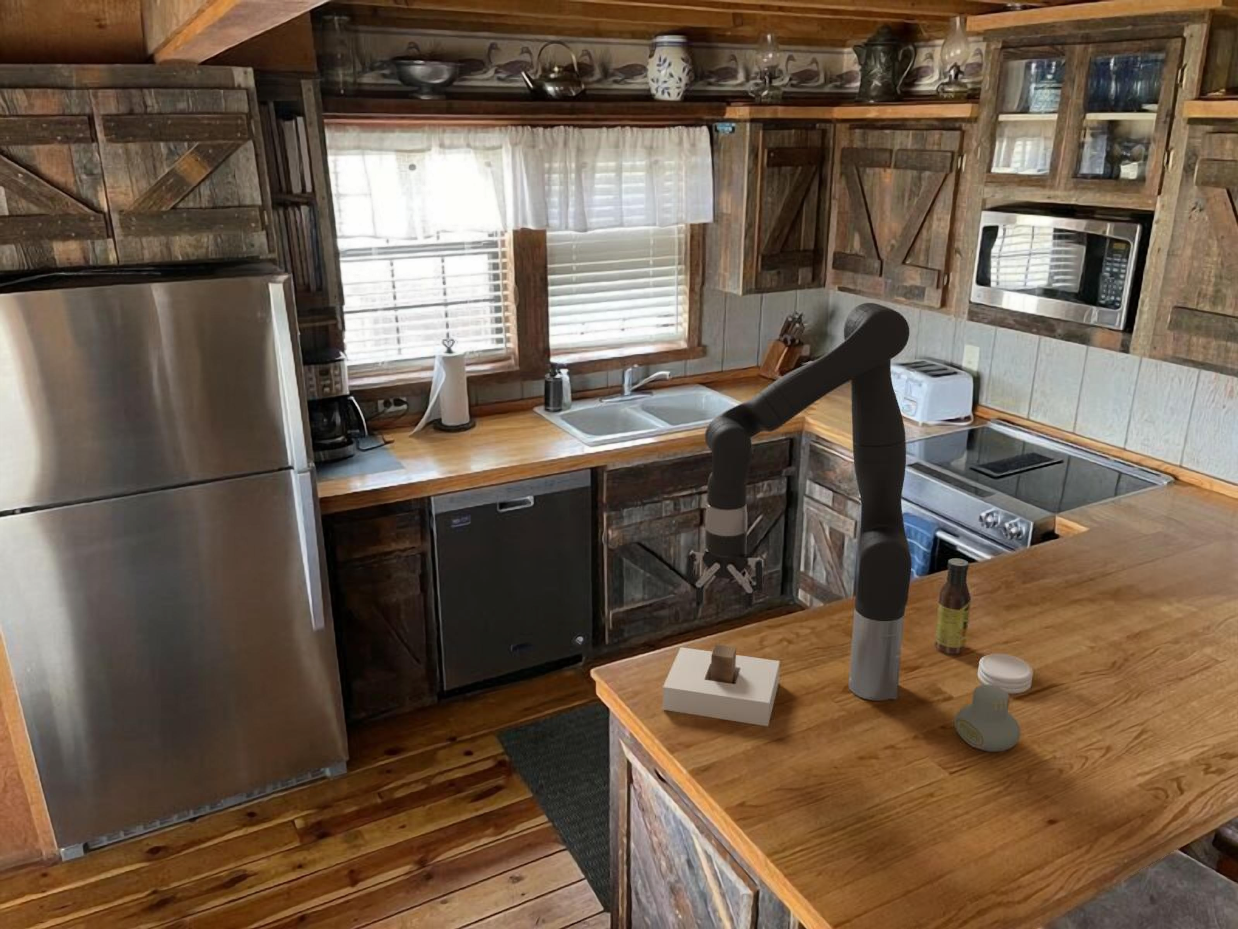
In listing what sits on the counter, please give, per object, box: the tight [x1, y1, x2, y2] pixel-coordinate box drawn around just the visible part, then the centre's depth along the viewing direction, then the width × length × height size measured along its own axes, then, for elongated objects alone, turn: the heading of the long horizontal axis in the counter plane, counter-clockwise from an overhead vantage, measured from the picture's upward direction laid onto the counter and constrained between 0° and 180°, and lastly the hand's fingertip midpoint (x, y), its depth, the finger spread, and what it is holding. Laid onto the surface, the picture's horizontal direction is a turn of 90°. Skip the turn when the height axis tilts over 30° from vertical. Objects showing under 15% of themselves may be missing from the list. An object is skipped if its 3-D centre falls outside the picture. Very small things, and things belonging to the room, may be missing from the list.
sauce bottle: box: [934, 557, 972, 655], centre depth 194 cm, size 6×6×20 cm
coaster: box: [977, 653, 1034, 695], centre depth 185 cm, size 10×10×4 cm
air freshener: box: [954, 684, 1021, 753], centre depth 165 cm, size 11×8×10 cm
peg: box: [711, 644, 737, 684], centre depth 179 cm, size 4×4×10 cm
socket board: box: [662, 646, 781, 727], centre depth 180 cm, size 20×15×5 cm
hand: (724, 605), depth 175 cm, fingers open, 8 cm apart
